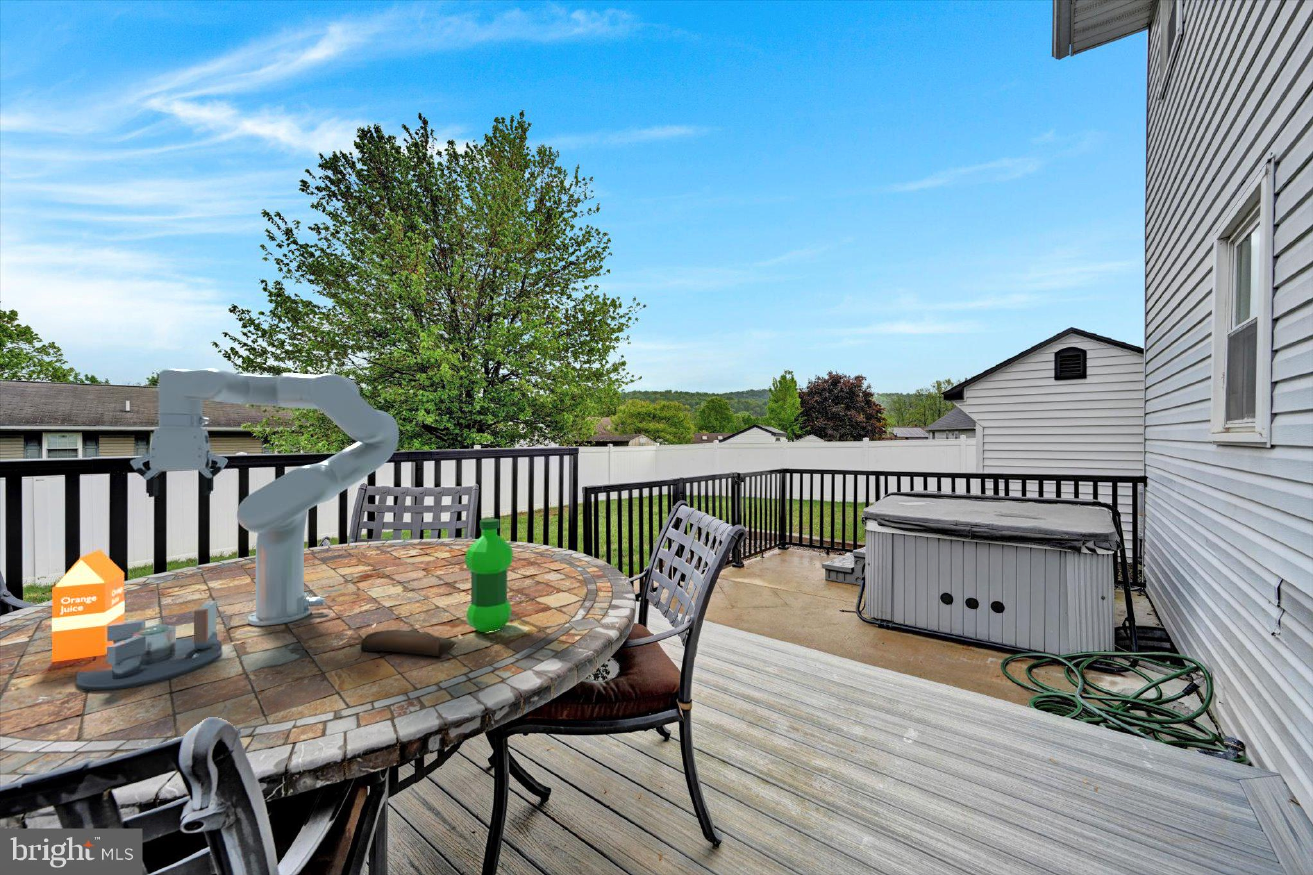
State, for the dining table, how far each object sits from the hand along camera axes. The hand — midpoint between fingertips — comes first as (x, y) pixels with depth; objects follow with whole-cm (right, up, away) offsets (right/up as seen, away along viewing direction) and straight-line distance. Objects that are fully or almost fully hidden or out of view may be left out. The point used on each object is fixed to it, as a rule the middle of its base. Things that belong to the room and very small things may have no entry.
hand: (180, 495), depth 122 cm
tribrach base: (+15, -30, -22) cm, 40 cm away
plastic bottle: (+73, -31, -3) cm, 79 cm away
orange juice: (-5, -31, -15) cm, 34 cm away
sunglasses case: (+60, -31, -13) cm, 69 cm away
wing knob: (+20, -29, -16) cm, 39 cm away
